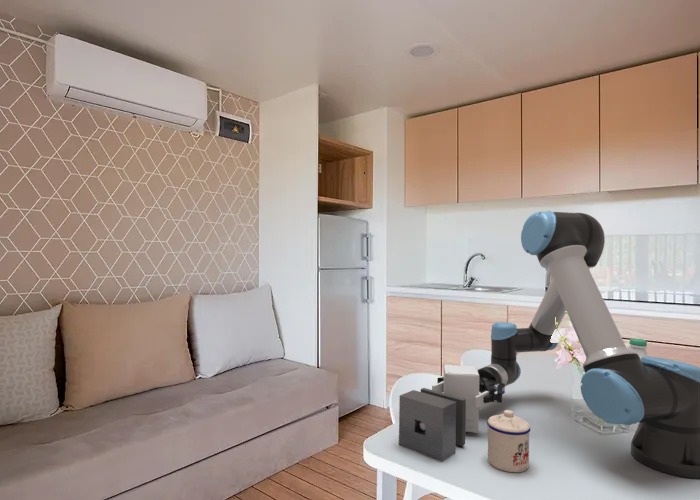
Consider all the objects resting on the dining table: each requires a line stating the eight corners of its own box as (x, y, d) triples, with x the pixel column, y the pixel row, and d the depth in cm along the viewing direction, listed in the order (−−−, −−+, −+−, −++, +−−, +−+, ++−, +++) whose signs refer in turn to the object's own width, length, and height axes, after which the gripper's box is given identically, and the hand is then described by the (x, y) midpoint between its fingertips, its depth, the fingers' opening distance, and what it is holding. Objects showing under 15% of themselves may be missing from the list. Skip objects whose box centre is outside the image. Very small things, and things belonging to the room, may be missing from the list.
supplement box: (479, 433, 108) (480, 375, 108) (443, 430, 110) (444, 372, 110) (476, 420, 117) (476, 365, 117) (443, 417, 119) (443, 363, 119)
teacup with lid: (520, 478, 89) (521, 422, 89) (479, 463, 95) (480, 411, 95) (540, 458, 97) (541, 407, 97) (501, 446, 104) (502, 398, 104)
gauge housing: (473, 440, 106) (473, 392, 106) (442, 461, 95) (442, 408, 95) (422, 423, 116) (423, 380, 116) (389, 441, 105) (389, 392, 105)
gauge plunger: (465, 444, 103) (465, 399, 103) (445, 457, 96) (445, 409, 96) (415, 427, 113) (415, 385, 113) (393, 438, 106) (394, 394, 106)
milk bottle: (656, 402, 136) (656, 340, 136) (646, 407, 132) (646, 343, 132) (629, 396, 142) (630, 336, 142) (619, 400, 138) (619, 338, 138)
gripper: (530, 401, 119) (498, 423, 103) (453, 382, 135) (415, 399, 119) (531, 374, 119) (498, 392, 103) (453, 359, 135) (415, 372, 119)
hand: (453, 396), depth 111 cm, fingers closed on supplement box, 12 cm apart
